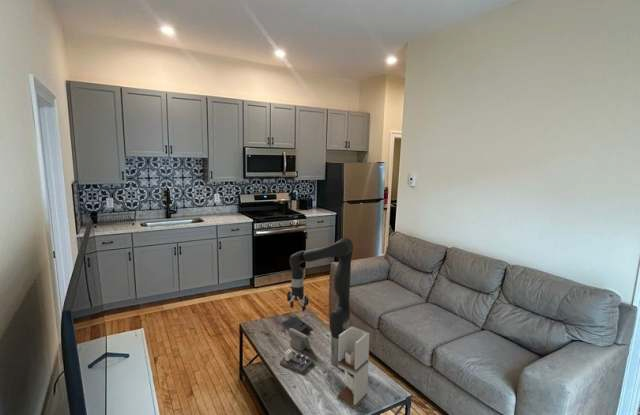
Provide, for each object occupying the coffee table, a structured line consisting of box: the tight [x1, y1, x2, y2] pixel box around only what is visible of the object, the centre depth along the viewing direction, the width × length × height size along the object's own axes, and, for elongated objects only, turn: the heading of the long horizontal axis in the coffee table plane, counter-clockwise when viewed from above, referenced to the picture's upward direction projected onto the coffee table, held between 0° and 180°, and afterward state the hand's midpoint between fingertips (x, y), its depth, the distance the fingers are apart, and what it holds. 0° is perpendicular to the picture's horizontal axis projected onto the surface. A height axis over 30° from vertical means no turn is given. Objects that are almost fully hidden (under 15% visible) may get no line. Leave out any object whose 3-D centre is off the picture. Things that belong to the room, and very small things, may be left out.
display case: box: [336, 325, 370, 409], centre depth 169 cm, size 11×11×35 cm
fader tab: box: [284, 348, 293, 361], centre depth 198 cm, size 2×4×5 cm, turn 149°
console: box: [279, 350, 315, 375], centre depth 198 cm, size 16×12×4 cm
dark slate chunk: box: [281, 316, 313, 335], centre depth 238 cm, size 15×22×5 cm
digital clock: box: [288, 328, 312, 353], centre depth 214 cm, size 16×9×11 cm, turn 37°
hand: (297, 309), depth 208 cm, fingers open, 8 cm apart
